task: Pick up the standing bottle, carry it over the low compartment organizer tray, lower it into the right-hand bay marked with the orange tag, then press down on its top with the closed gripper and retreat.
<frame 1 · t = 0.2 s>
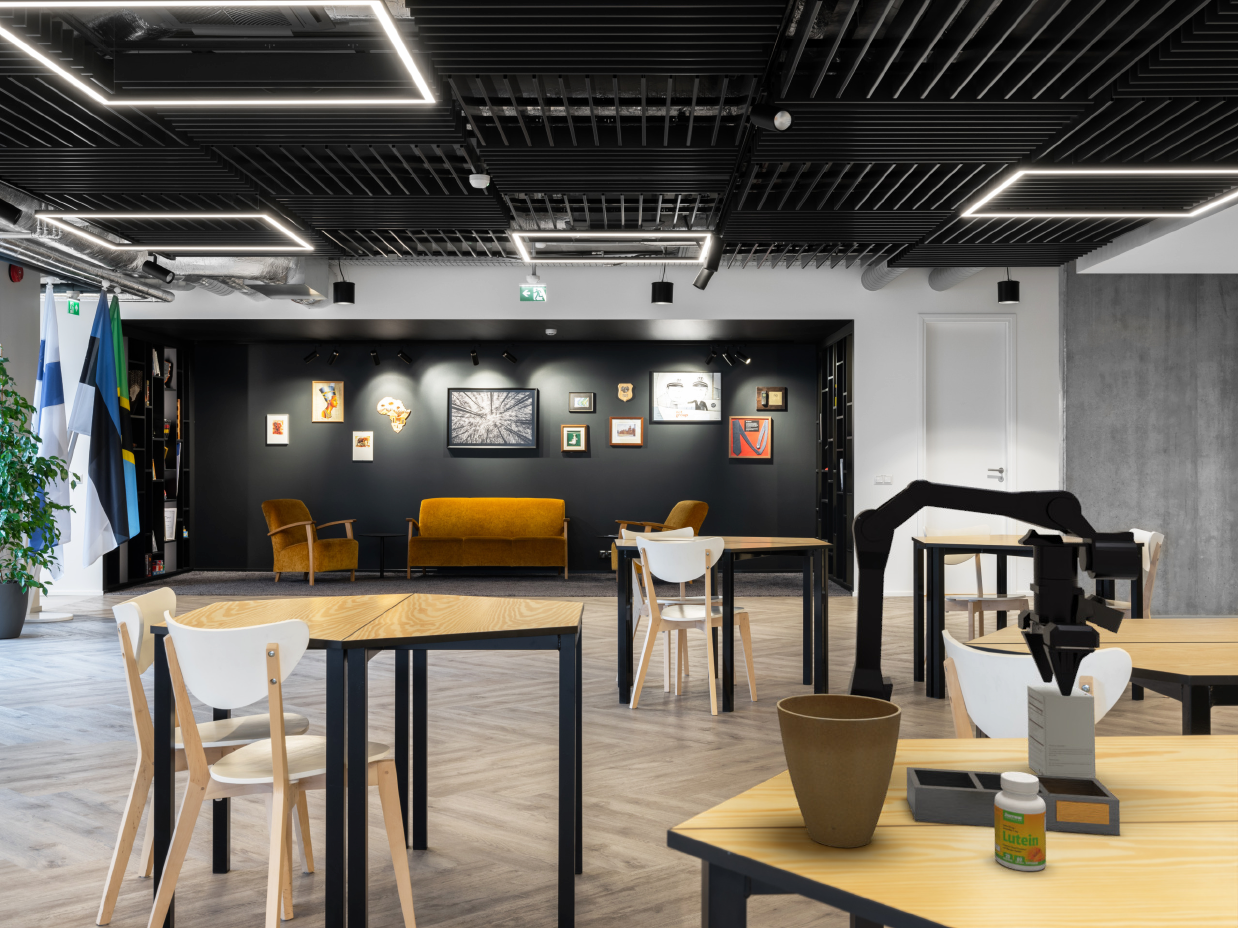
hand: (1056, 688, 130), 15 cm above the table, fingers open, 9 cm apart
plant pot: (838, 838, 112), on the table
supplement box: (1060, 775, 138), on the table
compartment organizer tray: (1007, 815, 120), on the table
supplement bottle: (1020, 864, 105), on the table
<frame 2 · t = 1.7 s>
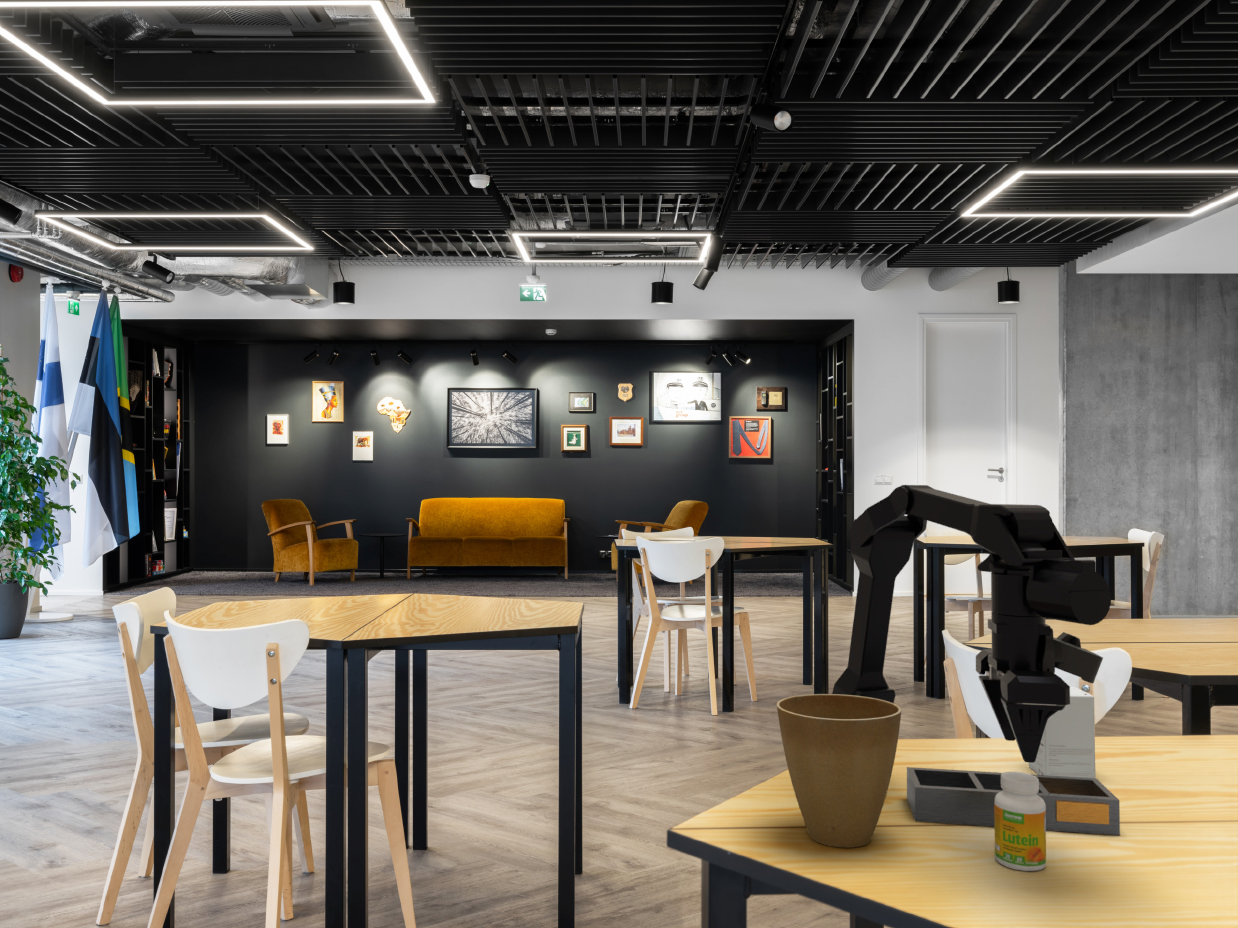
hand: (1019, 750, 105), 13 cm above the table, fingers open, 9 cm apart
nothing on the table moved.
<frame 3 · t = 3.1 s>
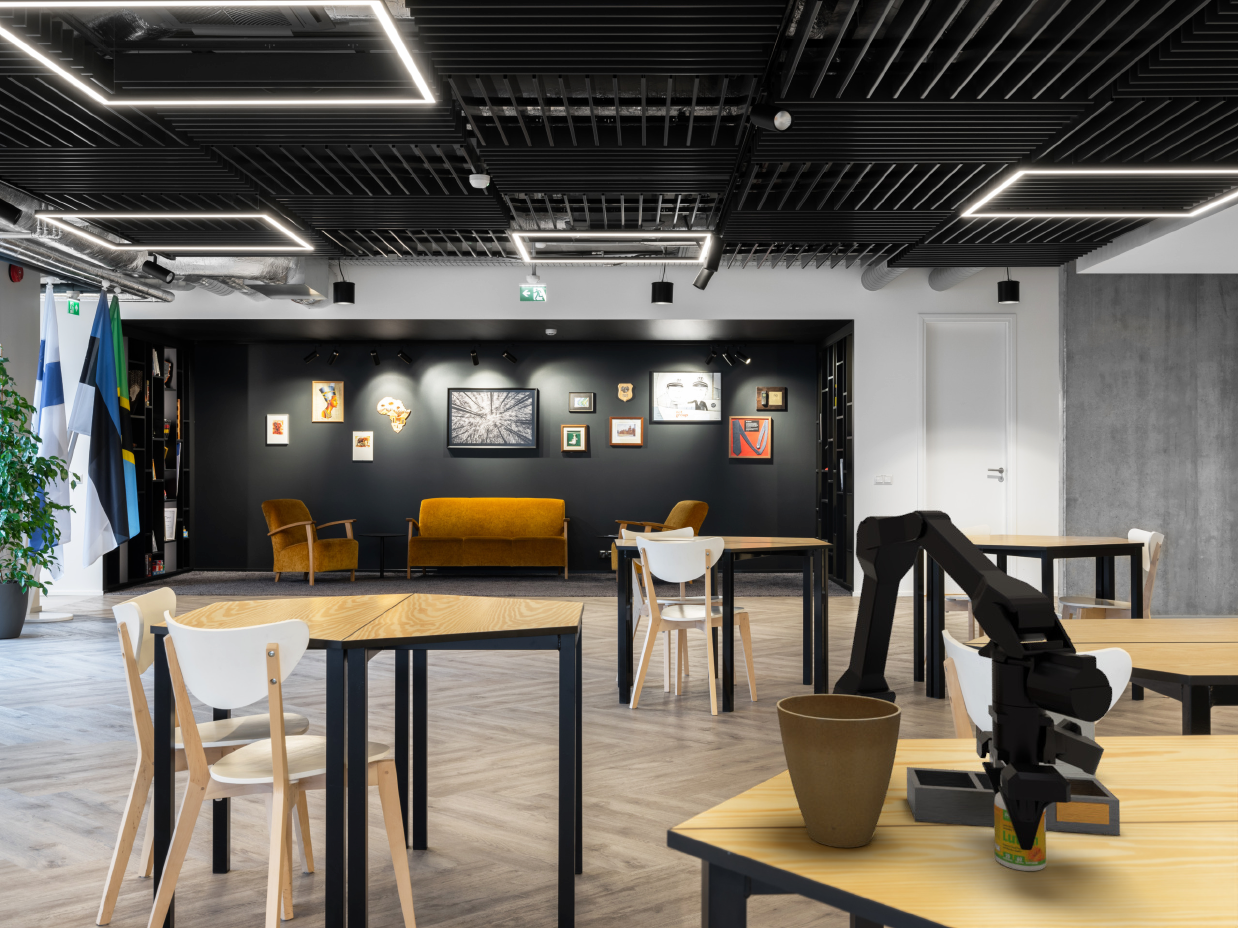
hand: (1020, 839, 105), 3 cm above the table, fingers closed on supplement bottle, 5 cm apart
supplement bottle: (1020, 864, 105), on the table, touching gripper
everything else where it was.
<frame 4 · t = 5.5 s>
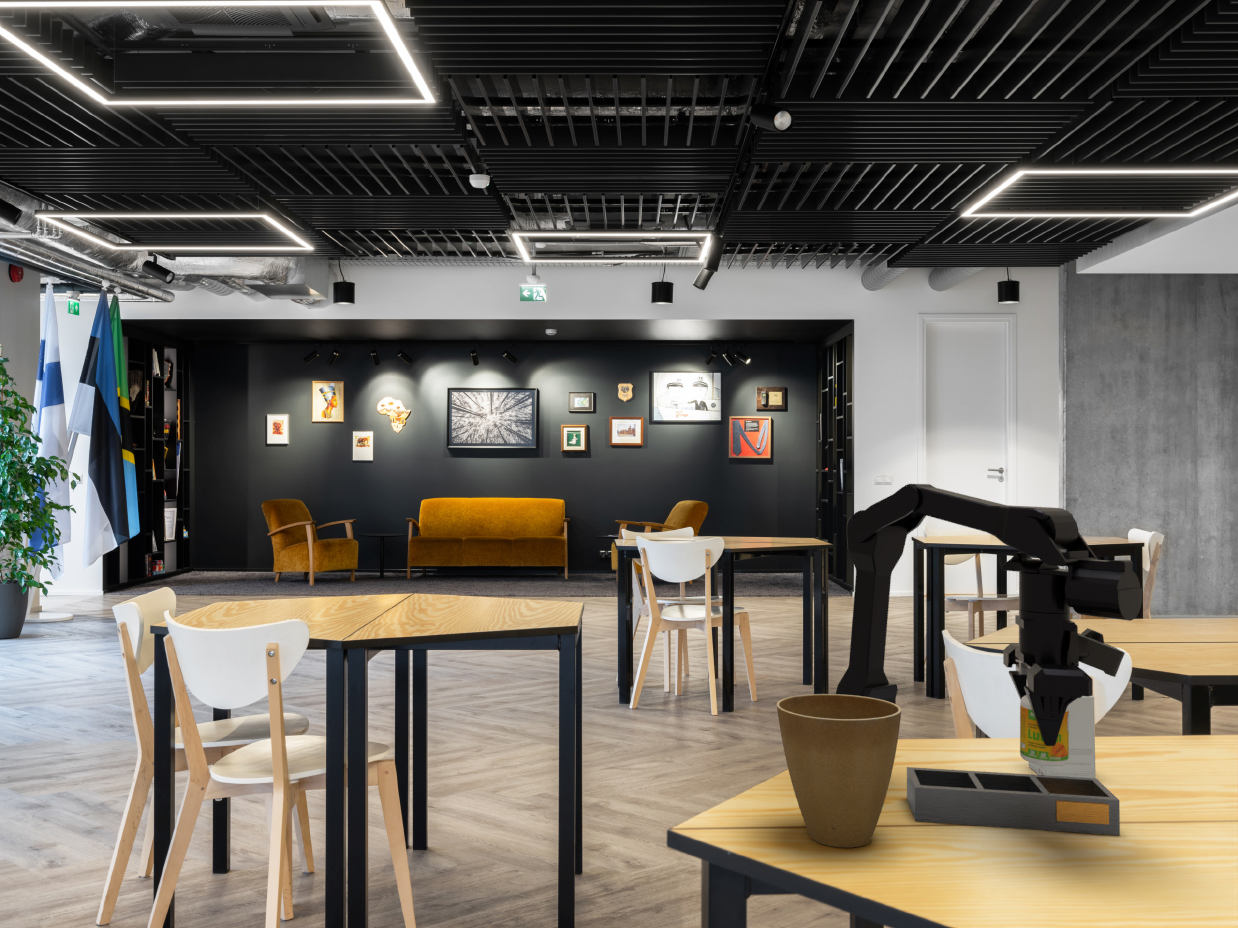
hand: (1044, 738, 112), 12 cm above the table, fingers closed on supplement bottle, 5 cm apart
supplement bottle: (1044, 761, 112), point 9 cm above the table, touching gripper
everything else where it was.
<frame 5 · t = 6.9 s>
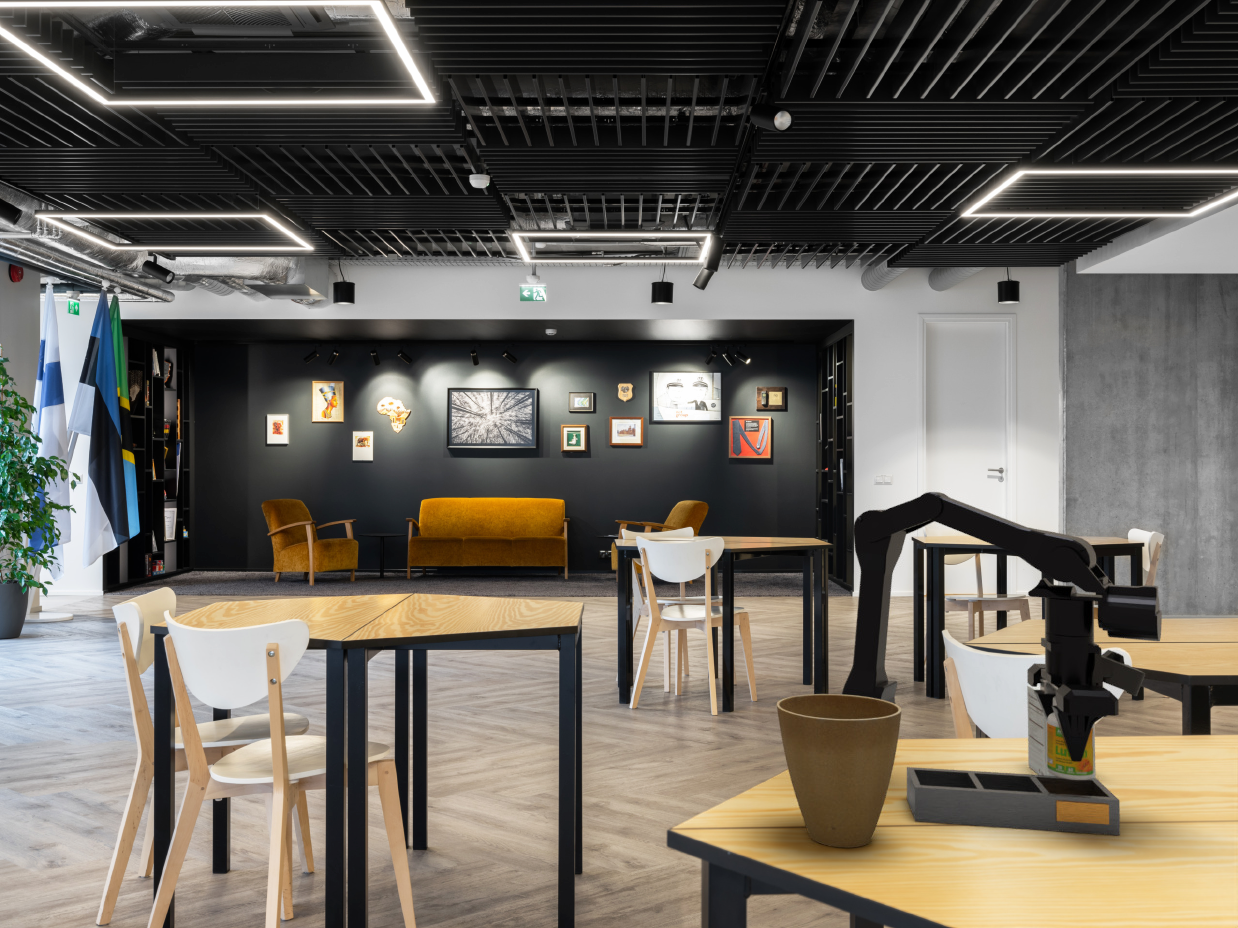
hand: (1069, 754, 119), 8 cm above the table, fingers closed on supplement bottle, 5 cm apart
supplement bottle: (1070, 775, 119), point 6 cm above the table, touching gripper
everything else where it was.
when the fingers open (5 cm above the table, at t = 7.9 s): supplement bottle drops 2 cm, resting on compartment organizer tray.
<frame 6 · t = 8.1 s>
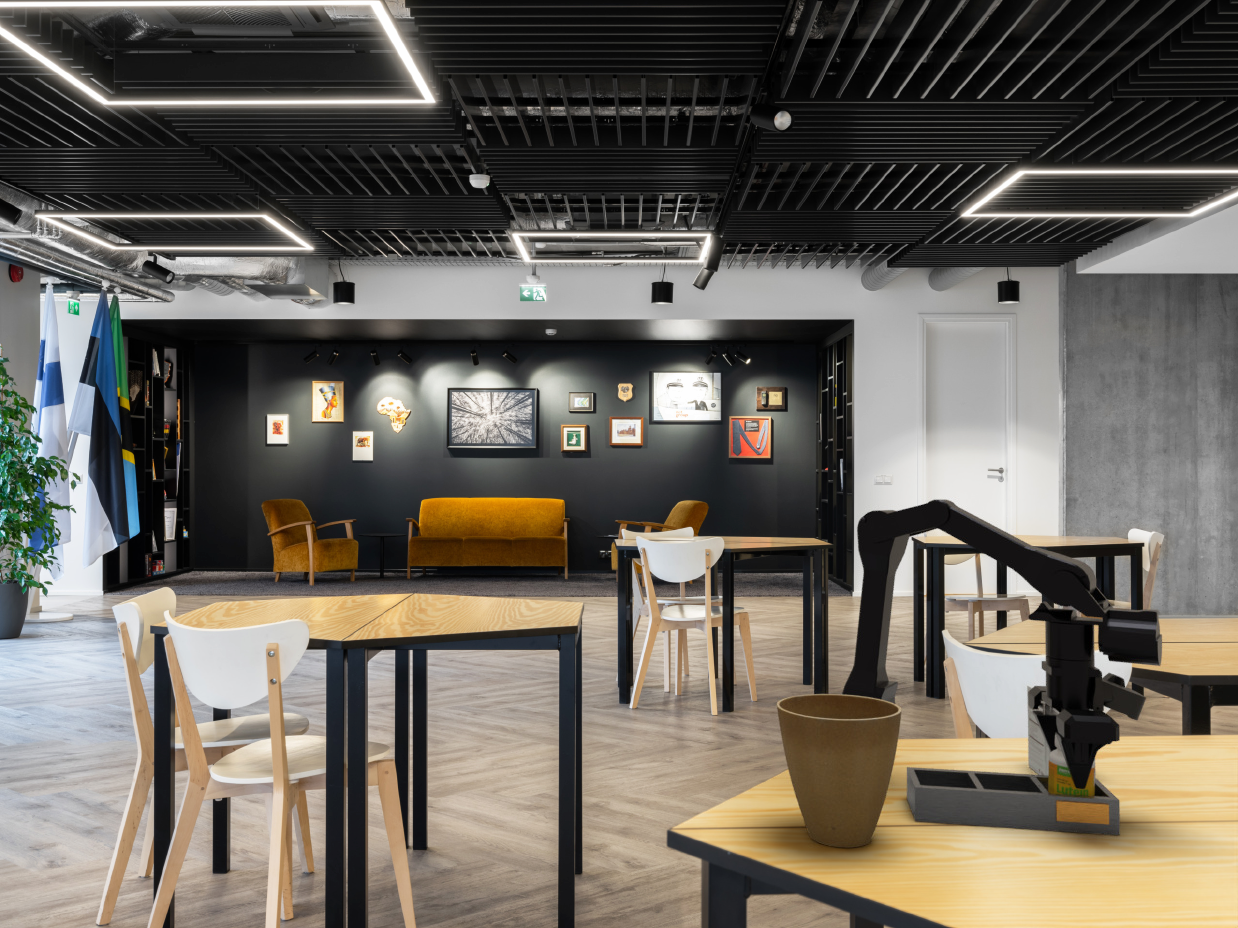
hand: (1070, 778, 119), 5 cm above the table, fingers open, 8 cm apart
supplement bottle: (1070, 813, 119), point 1 cm above the table, touching compartment organizer tray
everything else where it was.
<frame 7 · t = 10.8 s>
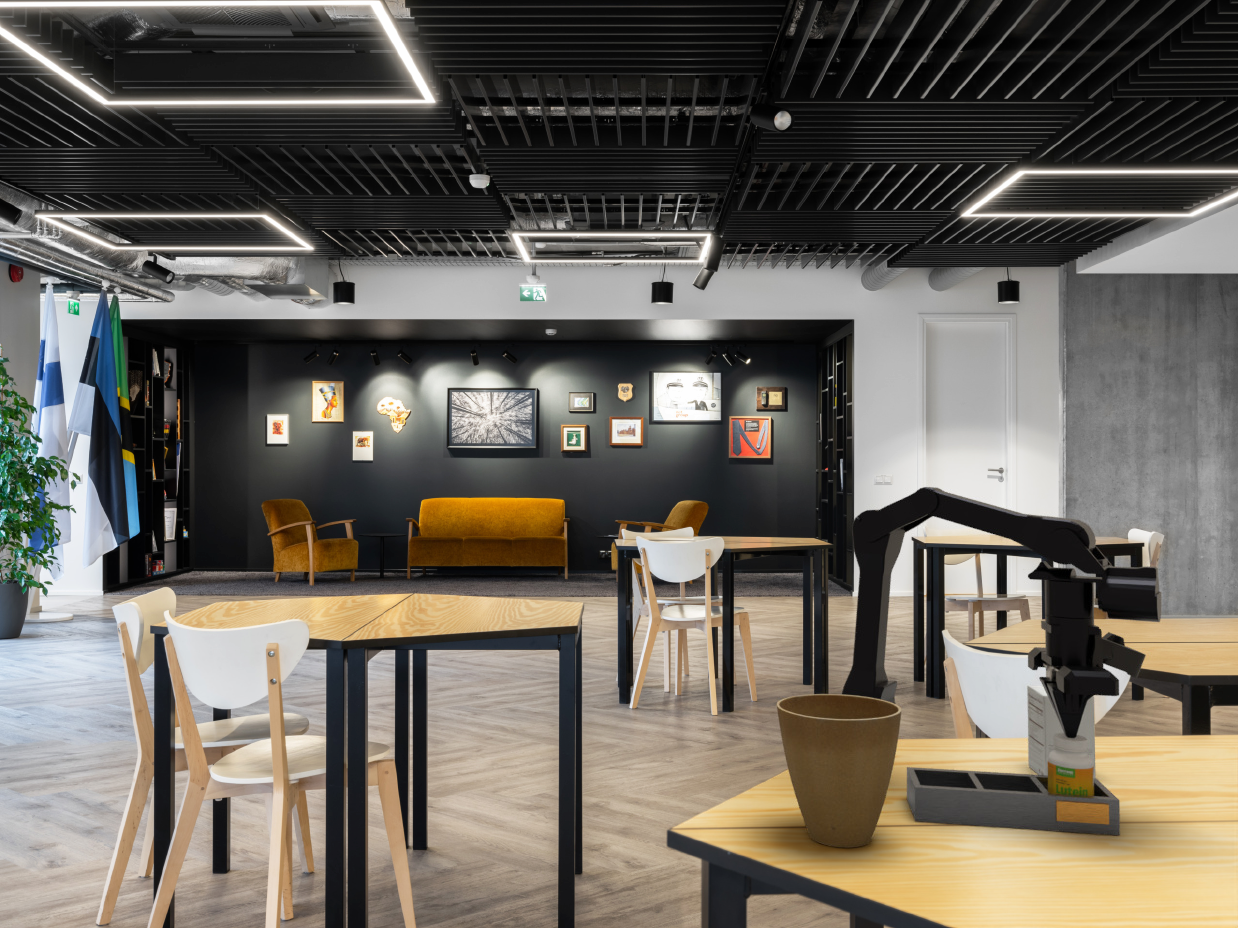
hand: (1070, 736, 119), 11 cm above the table, fingers closed
nothing on the table moved.
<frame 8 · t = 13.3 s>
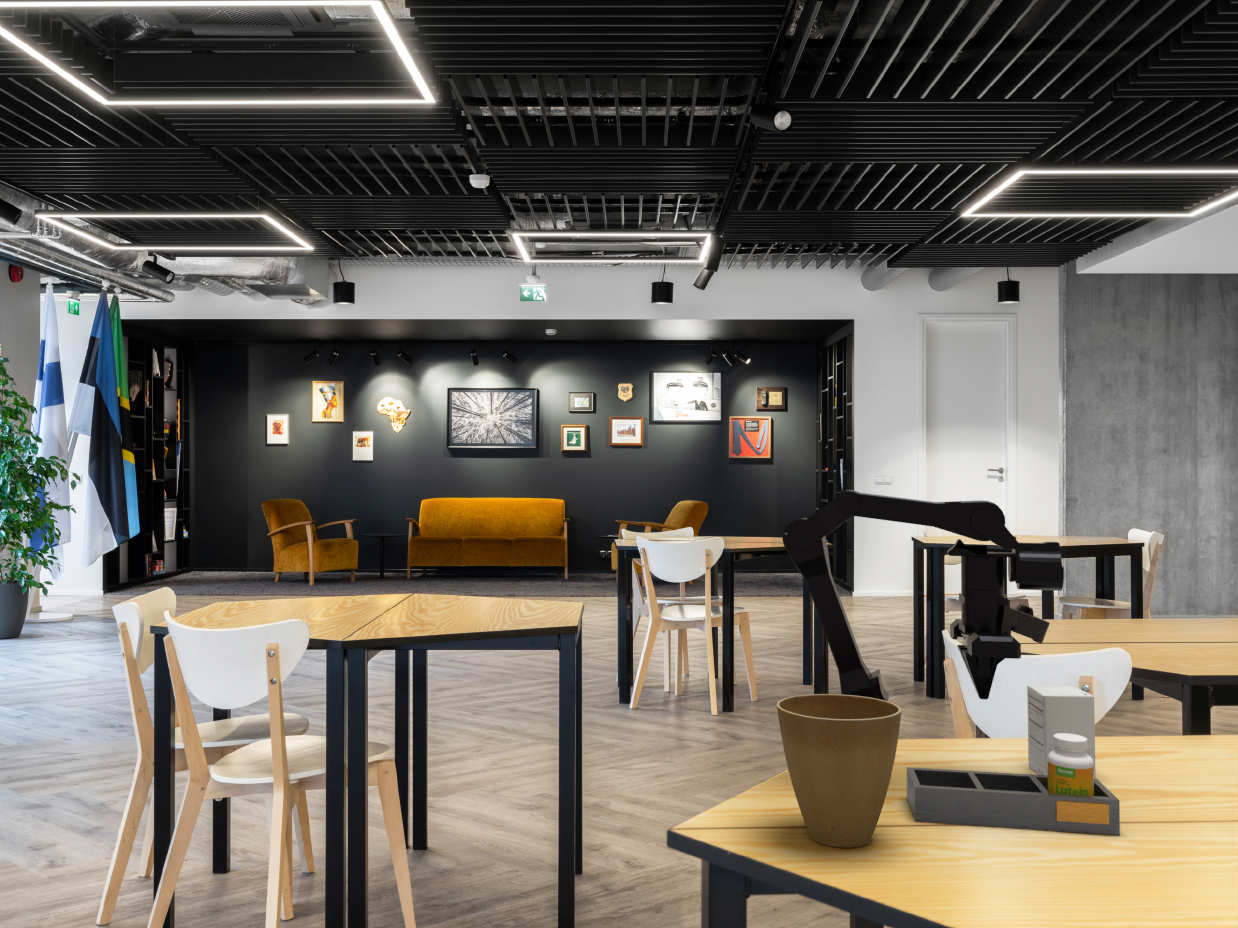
hand: (983, 698, 130), 13 cm above the table, fingers closed
nothing on the table moved.
at the end: supplement bottle 0.1 cm from the target spot on the compartment organizer tray, point 0.7 cm above the compartment organizer tray's base; supplement bottle tilted 0°; the gripper is holding nothing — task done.
